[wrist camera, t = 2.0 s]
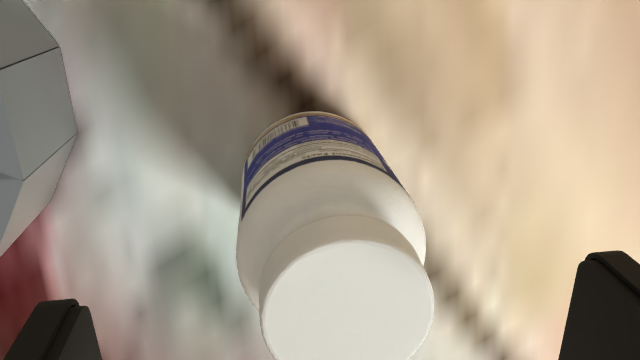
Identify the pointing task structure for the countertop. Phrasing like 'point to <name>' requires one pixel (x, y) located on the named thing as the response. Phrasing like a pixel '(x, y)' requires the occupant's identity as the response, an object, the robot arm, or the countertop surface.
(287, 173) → the pill bottle
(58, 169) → the grey faceted bowl
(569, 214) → the countertop surface
